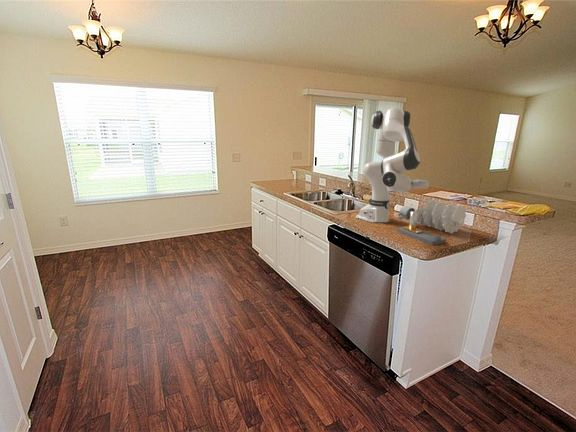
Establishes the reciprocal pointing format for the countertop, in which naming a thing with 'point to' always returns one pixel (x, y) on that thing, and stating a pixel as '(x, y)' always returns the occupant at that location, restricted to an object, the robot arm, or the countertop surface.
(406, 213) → the ceramic mug
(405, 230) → the board
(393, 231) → the countertop surface
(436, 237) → the hook
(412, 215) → the metal post on plate
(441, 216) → the spiral staircase
